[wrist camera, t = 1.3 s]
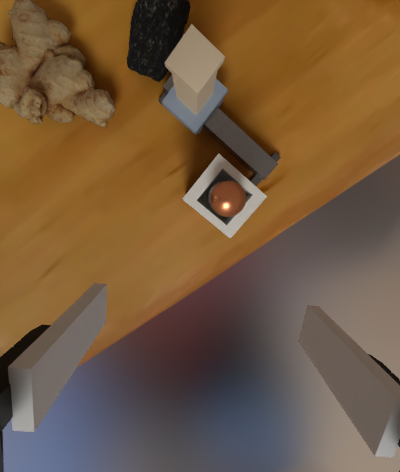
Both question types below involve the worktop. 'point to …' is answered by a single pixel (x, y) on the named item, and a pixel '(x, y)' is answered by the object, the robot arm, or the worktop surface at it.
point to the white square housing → (219, 173)
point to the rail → (235, 141)
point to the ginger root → (47, 71)
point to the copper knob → (227, 198)
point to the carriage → (194, 80)
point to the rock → (155, 35)
